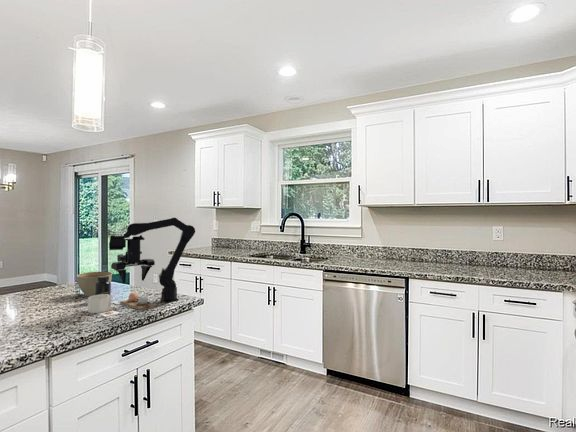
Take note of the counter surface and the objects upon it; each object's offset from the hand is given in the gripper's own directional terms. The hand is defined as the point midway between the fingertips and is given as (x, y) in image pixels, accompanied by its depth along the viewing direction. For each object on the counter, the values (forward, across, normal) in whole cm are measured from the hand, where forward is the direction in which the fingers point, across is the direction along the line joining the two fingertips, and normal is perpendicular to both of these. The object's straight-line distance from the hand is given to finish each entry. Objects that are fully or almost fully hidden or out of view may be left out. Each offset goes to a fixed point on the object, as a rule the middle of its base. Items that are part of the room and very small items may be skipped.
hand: (133, 282), depth 157 cm
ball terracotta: (+7, 0, 0) cm, 7 cm away
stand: (+10, 0, +4) cm, 11 cm away
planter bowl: (+10, +4, -32) cm, 34 cm away
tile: (+10, +15, +8) cm, 20 cm away
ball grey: (+7, 0, +9) cm, 11 cm away
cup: (+10, +15, -1) cm, 18 cm away
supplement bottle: (+10, +7, -16) cm, 20 cm away
